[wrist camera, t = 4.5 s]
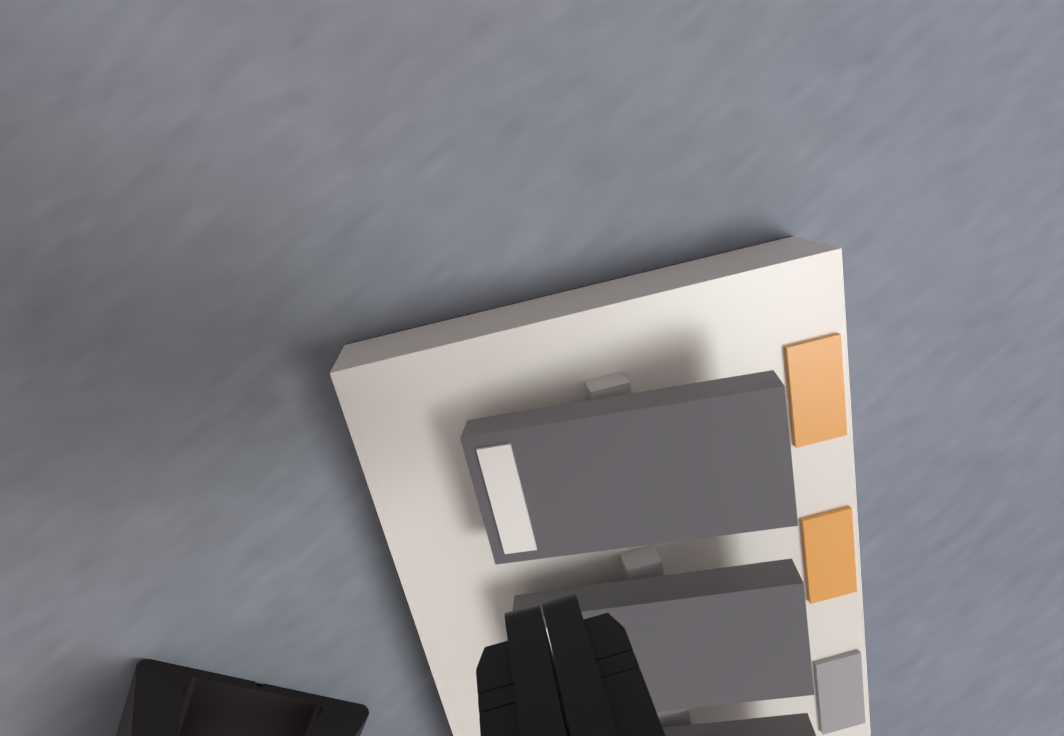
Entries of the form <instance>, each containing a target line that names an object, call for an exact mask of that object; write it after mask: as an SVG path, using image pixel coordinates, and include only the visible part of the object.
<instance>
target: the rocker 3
mask: <svg viewBox="0 0 1064 736" xmlns="http://www.w3.org/2000/svg"><path fill="white" fill-rule="evenodd" d="M663 730H664V733H665V736H816V734H815V731H814V729H813V726H812V723H811V721H810V718H809V716H808V713H800V714H790V715H780V716H771V717H761V718H751V719H741V720H732V721H722V722H712V723H702V724H693V725H683V726H673V727H663Z"/></svg>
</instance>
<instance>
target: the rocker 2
mask: <svg viewBox="0 0 1064 736" xmlns="http://www.w3.org/2000/svg"><path fill="white" fill-rule="evenodd" d="M572 594H576V596H577V599H578V603H579V606H580V610H581V613H582V616H583V619H586V618H590V617H594V616H597V615H601V614H604V613H609V614H610V615H611V616H612V617H613V618H614V619H616V620H617V621H618V622H619V623H620V624H621V625H622V626H623V627H624V628H625V630H626V632H627V635H628V638H629V640H630V643H631V646H632V648H633V652H634V654H635V656H636V659H637V662H638V664H639V667H640V670H641V672H642V675H643V677H644V680H645V683H646V685H647V688H648V691H649V693H650V696H651V699H652V701H653V704H654V707H655V709H656V712H658V711H667V710H677V709H686V708H695V707H705V706H714V705H724V704H733V703H743V702H752V701H762V700H771V699H781V698H790V697H799V696H809V695H814V686H813V675H812V665H811V654H810V644H809V633H808V623H807V612H806V602H805V591H804V583H803V581H802V579H801V576H800V574H799V572H798V570H797V568H796V566H795V564H794V562H793V560H792V558H791V559H784V560H776V561H769V562H761V563H754V564H746V565H739V566H731V567H724V568H716V569H709V570H701V571H694V572H686V573H679V574H671V575H664V576H656V577H649V578H641V579H634V580H626V581H619V582H611V583H604V584H596V585H589V586H581V587H574V588H566V589H559V590H551V591H544V592H536V593H529V594H521V595H515V596H514V603H513V610H512V611H515V610H518V609H522V608H525V607H529V606H533V605H536V604H539V606H540V609H541V613H542V617H543V620H544V624H545V628H546V631H547V635H548V639H549V634H548V630H547V625H546V621H545V616H544V612H543V607H542V603H543V602H547V601H550V600H554V599H557V598H561V597H565V596H568V595H572ZM549 642H550V639H549ZM550 646H551V643H550ZM551 650H552V648H551Z"/></svg>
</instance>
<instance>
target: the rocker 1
mask: <svg viewBox="0 0 1064 736" xmlns="http://www.w3.org/2000/svg"><path fill="white" fill-rule="evenodd" d="M460 440H461V443H462V447H463V451H464V454H465V458H466V461H467V465H468V468H469V472H470V476H471V479H472V483H473V486H474V490H475V493H476V497H477V501H478V504H479V508H480V511H481V515H482V518H483V522H484V526H485V529H486V533H487V536H488V540H489V543H490V547H491V551H492V554H493V558H494V561H495V565H497V564H504V563H512V562H520V561H528V560H536V559H543V558H551V557H559V556H567V555H575V554H582V553H590V552H598V551H606V550H613V549H621V548H629V547H637V546H645V545H652V544H660V543H668V542H676V541H684V540H691V539H699V538H707V537H715V536H723V535H730V534H738V533H746V532H754V531H761V530H769V529H777V528H785V527H793V526H798V519H797V508H796V498H795V487H794V477H793V466H792V456H791V445H790V435H789V424H788V414H787V403H786V393H785V386H784V384H783V383H782V381H781V380H780V379H779V377H778V376H777V374H776V373H775V371H774V370H770V371H764V372H758V373H752V374H746V375H740V376H734V377H728V378H721V379H715V380H709V381H703V382H697V383H691V384H685V385H679V386H673V387H667V388H660V389H654V390H648V391H642V392H636V393H630V394H624V395H618V396H612V397H606V398H600V399H593V400H587V401H581V402H575V403H569V404H563V405H557V406H551V407H545V408H539V409H533V410H526V411H520V412H514V413H508V414H502V415H496V416H490V417H484V418H478V419H472V420H467V422H466V425H465V427H464V430H463V432H462V434H461V437H460Z"/></svg>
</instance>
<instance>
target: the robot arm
mask: <svg viewBox="0 0 1064 736" xmlns="http://www.w3.org/2000/svg"><path fill="white" fill-rule="evenodd" d="M542 607H543V612H544V616H545V621H546V625H547V630H548V634H549V639H550V642H549V639H548V635H547V631H546V628H545V624H544V620H543V617H542V613H541V609H540V606H539V604H536V605H533V606H529V607H525V608H522V609H518V610H515V611H511V612H507V613H505V614H504V616H505V624H506V631H507V639H508V641H505V642H501V643H497V644H494V645H490V646H487V647H485V648H484V650H483V653H482V655H481V658H480V660H479V663H478V666H477V668H476V679H477V693H478V707H479V715H480V717H479V721H480V735H481V736H665V733H664V730H663V728H662V725H661V723H660V720H659V717H658V715H657V712H656V709H655V707H654V704H653V701H652V699H651V696H650V693H649V691H648V688H647V685H646V683H645V680H644V677H643V675H642V672H641V670H640V667H639V664H638V662H637V659H636V656H635V654H634V652H633V648H632V646H631V643H630V640H629V638H628V635H627V632H626V630H625V628H624V627H623V626H622V625H621V624H620V623H619V622H618V621H617V620H616V619H614V618H613V617H612V616H611V615H610V614H609V613H604V614H601V615H597V616H594V617H590V618H586V619H583V616H582V613H581V610H580V606H579V603H578V599H577V596H576V594H572V595H568V596H565V597H561V598H557V599H554V600H550V601H547V602H543V603H542ZM550 643H551V646H550ZM551 648H552V650H551Z"/></svg>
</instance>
